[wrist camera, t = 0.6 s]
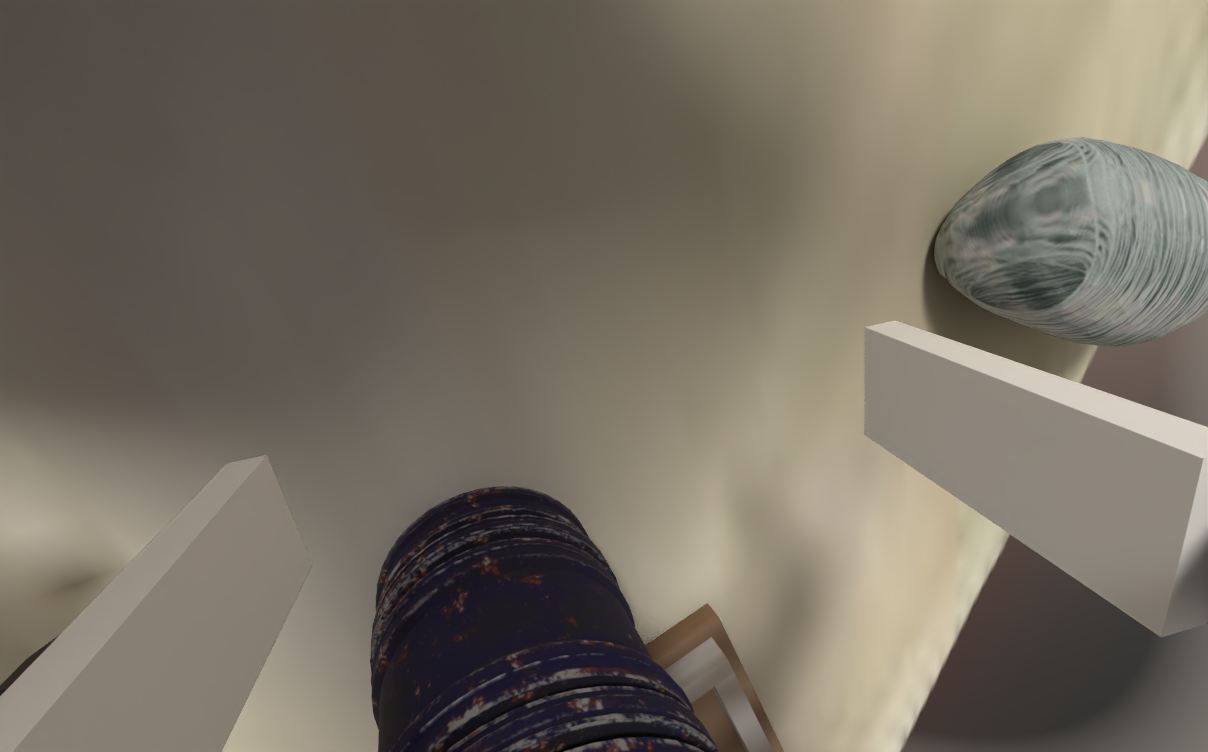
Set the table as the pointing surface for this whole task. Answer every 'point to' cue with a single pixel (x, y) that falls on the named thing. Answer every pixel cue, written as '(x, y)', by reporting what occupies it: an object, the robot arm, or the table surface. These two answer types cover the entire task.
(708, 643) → the cradle plate
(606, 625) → the rusty blue barrel
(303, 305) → the table surface
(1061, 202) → the spool
